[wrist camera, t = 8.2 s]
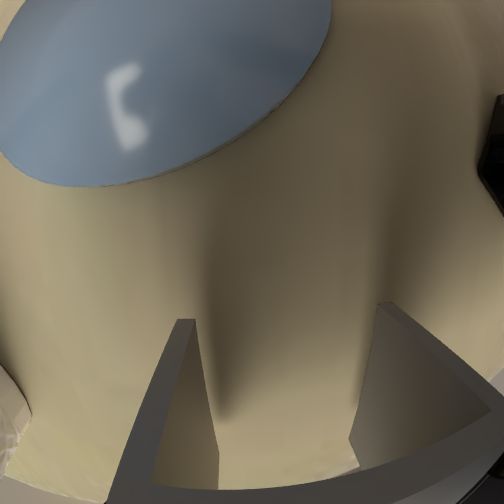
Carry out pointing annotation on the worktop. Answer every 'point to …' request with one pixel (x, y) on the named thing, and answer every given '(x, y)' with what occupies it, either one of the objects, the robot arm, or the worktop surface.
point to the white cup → (11, 418)
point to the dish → (145, 81)
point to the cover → (361, 436)
